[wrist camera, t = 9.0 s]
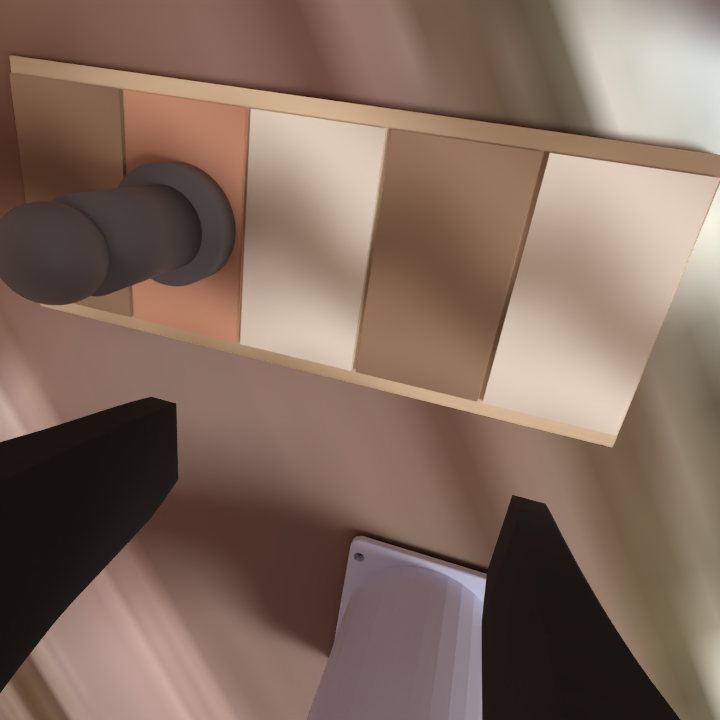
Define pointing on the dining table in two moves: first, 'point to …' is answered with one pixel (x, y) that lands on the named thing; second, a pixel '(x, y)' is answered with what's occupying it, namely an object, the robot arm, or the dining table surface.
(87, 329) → the dining table surface
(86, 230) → the pawn
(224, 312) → the board
